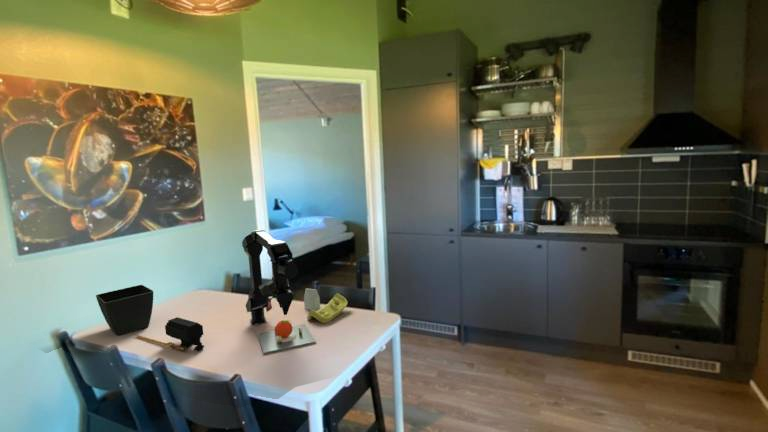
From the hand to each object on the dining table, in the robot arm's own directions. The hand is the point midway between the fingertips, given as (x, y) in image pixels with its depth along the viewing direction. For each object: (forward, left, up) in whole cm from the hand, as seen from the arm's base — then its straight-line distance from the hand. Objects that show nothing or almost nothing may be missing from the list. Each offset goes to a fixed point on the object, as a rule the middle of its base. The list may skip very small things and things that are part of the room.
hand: (283, 311), depth 166 cm
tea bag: (-30, +18, -12) cm, 37 cm away
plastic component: (-17, +23, -12) cm, 31 cm away
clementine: (0, 0, -11) cm, 11 cm away
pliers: (-48, -2, -13) cm, 49 cm away
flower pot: (-48, -63, -12) cm, 80 cm away
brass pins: (0, +2, -11) cm, 11 cm away
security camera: (-14, -37, -12) cm, 41 cm away
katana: (-21, -48, -12) cm, 54 cm away
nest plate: (0, 0, -12) cm, 12 cm away
